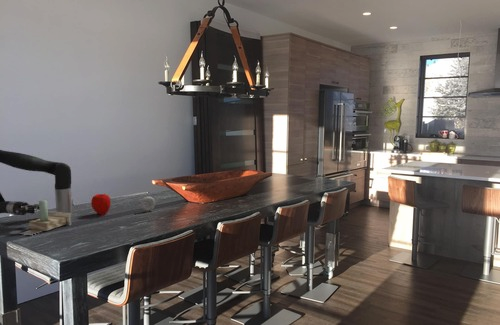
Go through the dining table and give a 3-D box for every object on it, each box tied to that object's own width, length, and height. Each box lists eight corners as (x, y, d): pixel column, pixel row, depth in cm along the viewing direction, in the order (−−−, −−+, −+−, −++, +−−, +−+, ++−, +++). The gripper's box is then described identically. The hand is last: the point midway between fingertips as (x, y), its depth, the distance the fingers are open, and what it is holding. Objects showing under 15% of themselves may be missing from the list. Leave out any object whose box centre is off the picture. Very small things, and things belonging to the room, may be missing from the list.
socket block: (49, 222, 236) (49, 215, 235) (66, 224, 232) (65, 217, 232) (29, 228, 223) (29, 221, 222) (46, 230, 219) (46, 223, 218)
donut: (142, 213, 261) (141, 197, 260) (139, 212, 264) (139, 197, 263) (156, 210, 268) (155, 195, 267) (153, 209, 270) (153, 195, 269)
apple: (87, 215, 256) (86, 194, 254) (102, 211, 266) (101, 191, 265) (100, 217, 250) (99, 196, 249) (115, 213, 261) (114, 193, 259)
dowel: (44, 224, 228) (43, 200, 226) (50, 225, 226) (48, 200, 225) (38, 226, 224) (37, 201, 222) (44, 227, 222) (42, 201, 221)
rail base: (49, 222, 238) (48, 211, 238) (71, 224, 233) (70, 212, 233) (13, 234, 215) (12, 221, 214) (36, 236, 210) (35, 223, 209)
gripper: (6, 204, 223) (29, 205, 218) (27, 199, 237) (49, 200, 232) (7, 217, 224) (30, 219, 219) (28, 211, 237) (50, 213, 232)
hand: (40, 209), depth 225 cm, fingers open, 8 cm apart
